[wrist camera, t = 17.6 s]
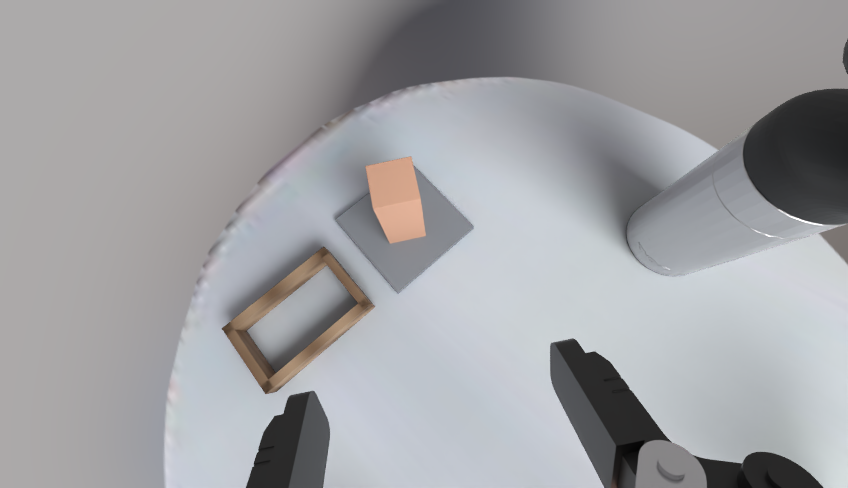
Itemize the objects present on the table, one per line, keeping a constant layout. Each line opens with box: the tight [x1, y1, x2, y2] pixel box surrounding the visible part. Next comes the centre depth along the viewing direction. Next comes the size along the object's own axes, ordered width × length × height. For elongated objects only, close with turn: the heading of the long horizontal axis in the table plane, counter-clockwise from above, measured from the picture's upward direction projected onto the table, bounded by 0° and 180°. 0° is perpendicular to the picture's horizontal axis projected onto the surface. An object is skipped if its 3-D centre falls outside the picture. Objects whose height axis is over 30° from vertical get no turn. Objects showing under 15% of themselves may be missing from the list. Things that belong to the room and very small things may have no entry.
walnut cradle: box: [222, 247, 375, 394], centre depth 40 cm, size 14×9×2 cm, turn 131°
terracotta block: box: [365, 157, 426, 244], centre depth 38 cm, size 4×4×11 cm
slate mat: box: [336, 165, 474, 293], centre depth 44 cm, size 12×12×1 cm
